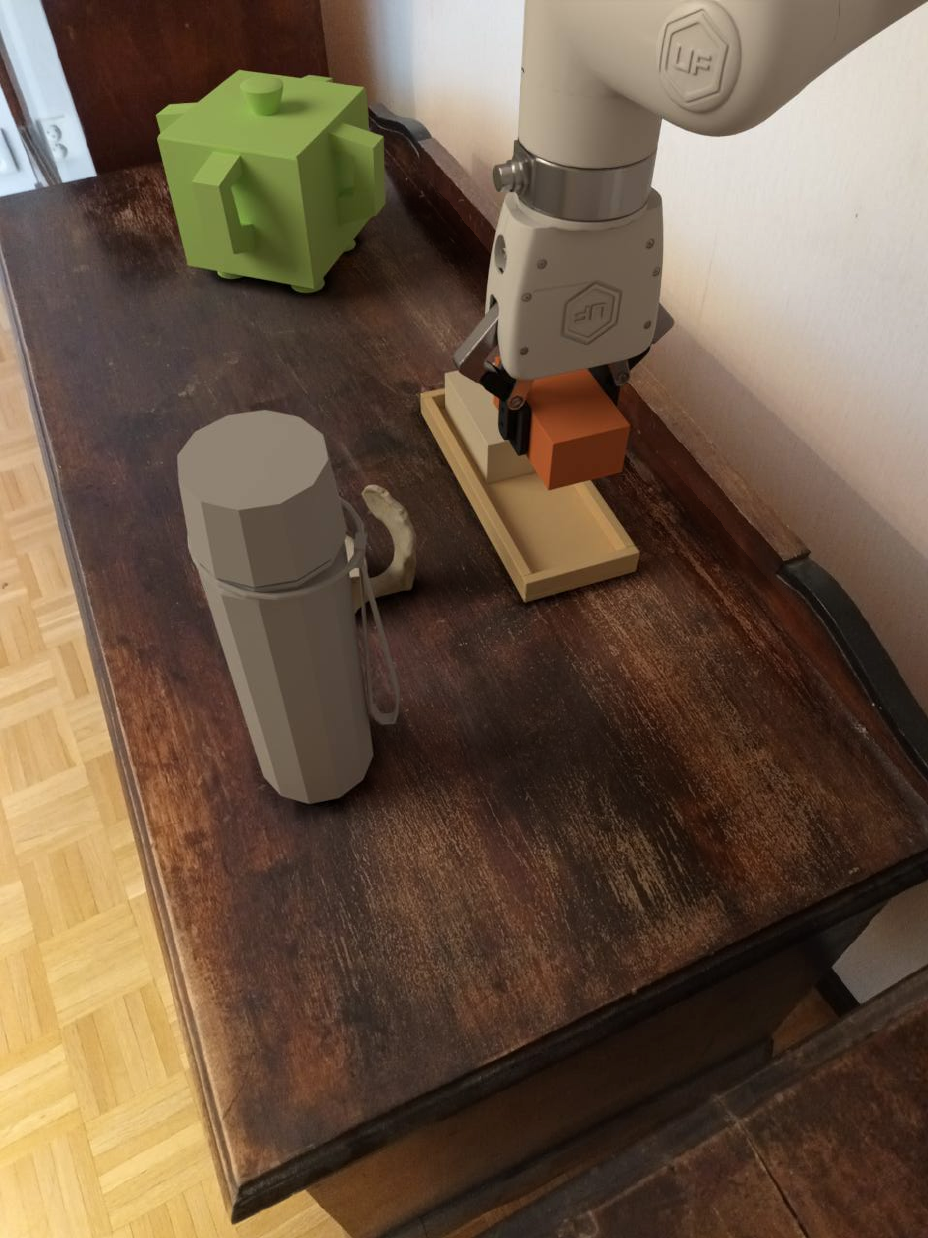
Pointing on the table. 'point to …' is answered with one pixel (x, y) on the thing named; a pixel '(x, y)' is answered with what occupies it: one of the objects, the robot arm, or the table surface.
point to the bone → (404, 542)
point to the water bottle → (285, 597)
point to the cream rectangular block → (481, 429)
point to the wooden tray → (537, 520)
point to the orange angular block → (573, 430)
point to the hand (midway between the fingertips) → (555, 431)
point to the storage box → (272, 176)
